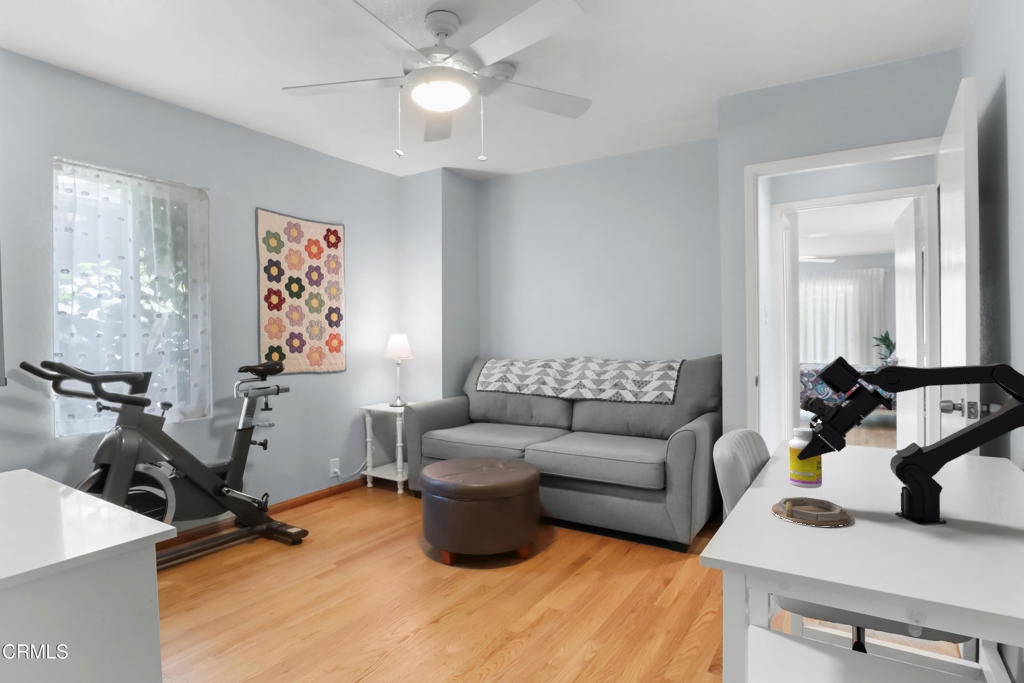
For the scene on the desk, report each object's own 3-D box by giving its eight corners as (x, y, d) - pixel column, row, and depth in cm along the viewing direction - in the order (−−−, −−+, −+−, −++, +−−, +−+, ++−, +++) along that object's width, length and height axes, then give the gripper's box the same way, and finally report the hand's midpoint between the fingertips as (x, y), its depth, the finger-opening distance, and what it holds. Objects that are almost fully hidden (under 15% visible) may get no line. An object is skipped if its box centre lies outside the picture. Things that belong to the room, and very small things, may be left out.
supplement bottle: (821, 490, 121) (820, 432, 121) (788, 487, 125) (787, 430, 125) (822, 483, 127) (821, 427, 127) (790, 480, 131) (789, 426, 131)
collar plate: (867, 525, 114) (867, 506, 114) (799, 529, 112) (799, 510, 112) (818, 503, 129) (818, 487, 129) (758, 506, 127) (758, 490, 127)
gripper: (820, 379, 133) (770, 423, 137) (826, 386, 116) (769, 436, 121) (859, 413, 129) (807, 457, 134) (871, 425, 112) (811, 475, 117)
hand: (798, 455), depth 127 cm, fingers closed on supplement bottle, 7 cm apart
